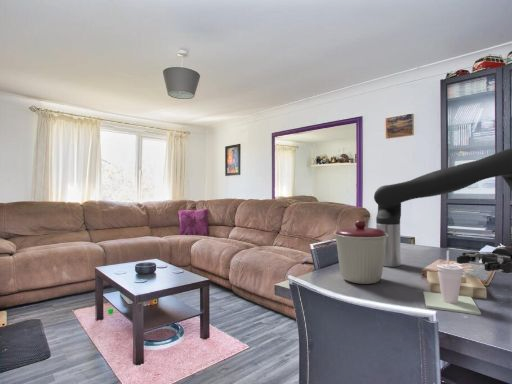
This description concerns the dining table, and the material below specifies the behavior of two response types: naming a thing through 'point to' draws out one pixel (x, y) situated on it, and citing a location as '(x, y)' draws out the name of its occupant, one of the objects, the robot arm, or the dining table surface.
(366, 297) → the dining table surface
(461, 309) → the mat
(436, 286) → the holder
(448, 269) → the smoothie
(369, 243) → the canister
